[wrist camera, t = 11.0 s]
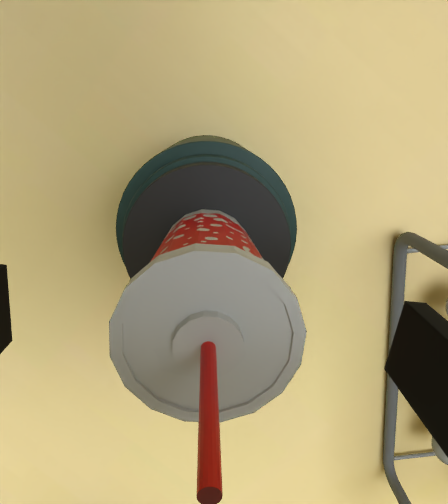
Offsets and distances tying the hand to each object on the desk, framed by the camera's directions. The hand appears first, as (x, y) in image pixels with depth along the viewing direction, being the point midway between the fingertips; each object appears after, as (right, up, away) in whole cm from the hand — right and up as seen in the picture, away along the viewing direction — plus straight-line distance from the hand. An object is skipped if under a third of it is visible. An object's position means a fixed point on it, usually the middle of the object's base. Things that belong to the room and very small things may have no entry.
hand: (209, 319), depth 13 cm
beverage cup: (0, +2, +8) cm, 8 cm away
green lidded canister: (-1, +7, +21) cm, 22 cm away
